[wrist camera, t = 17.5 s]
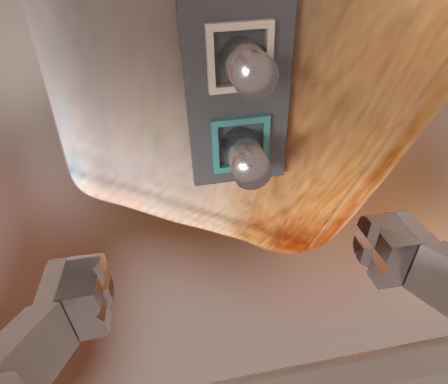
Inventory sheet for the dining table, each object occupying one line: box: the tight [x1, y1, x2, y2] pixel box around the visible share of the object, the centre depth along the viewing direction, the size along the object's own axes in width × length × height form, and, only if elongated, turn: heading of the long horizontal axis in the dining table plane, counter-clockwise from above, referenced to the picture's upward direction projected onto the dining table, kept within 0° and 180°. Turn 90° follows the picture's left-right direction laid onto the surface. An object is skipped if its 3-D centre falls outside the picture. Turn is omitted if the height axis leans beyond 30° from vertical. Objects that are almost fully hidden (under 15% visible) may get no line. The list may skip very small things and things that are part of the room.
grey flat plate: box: [176, 0, 297, 186], centre depth 43 cm, size 13×23×2 cm, turn 2°
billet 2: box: [222, 127, 272, 190], centre depth 43 cm, size 4×4×8 cm
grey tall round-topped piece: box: [220, 36, 279, 101], centre depth 36 cm, size 4×4×8 cm
